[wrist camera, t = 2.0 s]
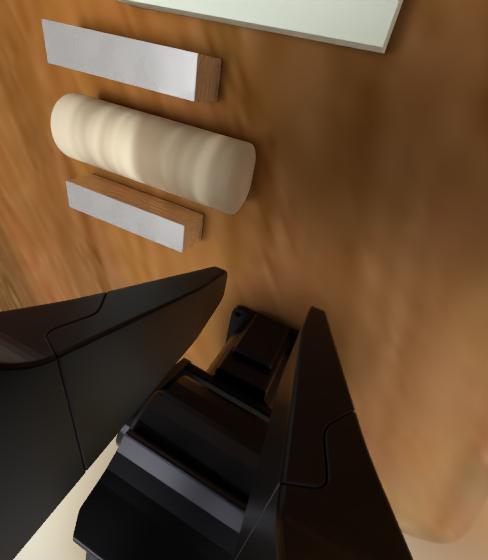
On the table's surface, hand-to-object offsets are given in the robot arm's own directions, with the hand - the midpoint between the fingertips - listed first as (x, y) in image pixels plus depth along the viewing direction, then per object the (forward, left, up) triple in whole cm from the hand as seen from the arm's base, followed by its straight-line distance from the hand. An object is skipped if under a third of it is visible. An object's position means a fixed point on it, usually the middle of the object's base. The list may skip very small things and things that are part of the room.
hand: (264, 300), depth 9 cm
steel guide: (0, +13, -11) cm, 17 cm away
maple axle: (0, +11, -11) cm, 16 cm away
